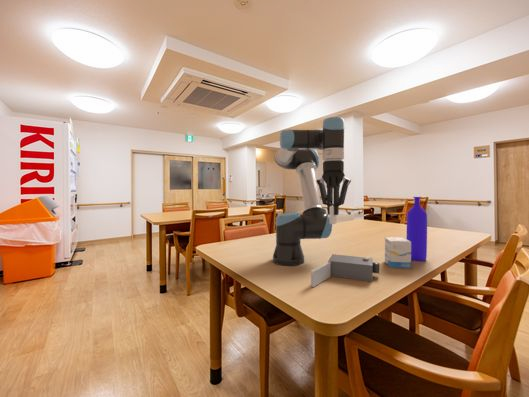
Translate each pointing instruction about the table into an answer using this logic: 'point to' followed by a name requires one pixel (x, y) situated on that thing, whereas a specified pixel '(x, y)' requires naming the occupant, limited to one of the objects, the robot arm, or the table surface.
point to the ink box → (398, 252)
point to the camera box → (353, 267)
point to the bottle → (417, 231)
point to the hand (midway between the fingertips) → (332, 223)
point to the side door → (320, 274)
